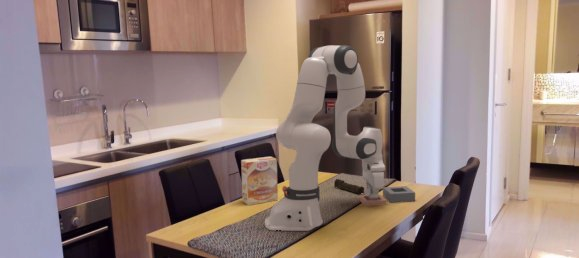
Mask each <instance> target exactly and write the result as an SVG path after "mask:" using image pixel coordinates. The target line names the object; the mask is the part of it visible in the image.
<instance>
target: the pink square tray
mask: <svg viewBox="0 0 579 258" xmlns="http://www.w3.org/2000/svg"><path fill="white" fill-rule="evenodd" d="M358 200H359V201H360V202H361V203H362V205H363V206H364V207H369V206H386V205H387V199H386V198H385V197H384V196H383V195H381V194H379V193H378V200H367V194H361V195H358Z"/></svg>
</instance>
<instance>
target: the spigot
mask: <svg viewBox="0 0 579 258" xmlns="http://www.w3.org/2000/svg"><path fill="white" fill-rule="evenodd" d="M373 193H374V190H373V187H372V186H371V185H370V184H367V185H366V195H367V200H378V197H376V198H375V197H373Z"/></svg>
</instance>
